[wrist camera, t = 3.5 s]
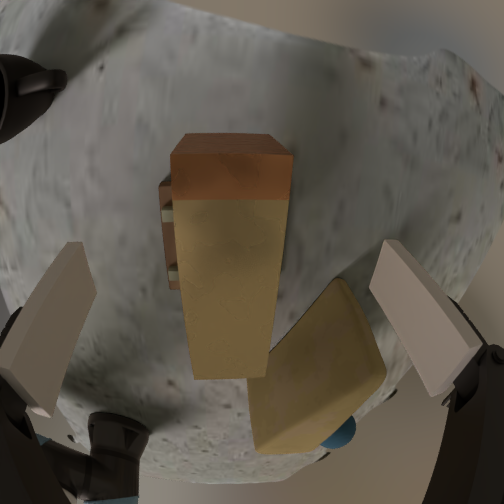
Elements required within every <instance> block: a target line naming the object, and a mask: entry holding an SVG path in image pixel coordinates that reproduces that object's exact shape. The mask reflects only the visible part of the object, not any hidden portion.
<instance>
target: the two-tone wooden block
mask: <svg viewBox="0 0 504 504" xmlns="http://www.w3.org/2000/svg"><path fill="white" fill-rule="evenodd" d="M293 158H294V156H293V155H292V154H291V153H290V152H289V151H288V150H287V149H286V148H284V147H283V146H282V145H281V144H280V143H279V142H278V141H276V140H275V139H274V138H273V137H272V136H271V135H269V134H247V133H190V134H185V135H184V137H183V138H182V139H181V141H180V142H179V143H178V145H177V146H176V147H175V149H174V150H173V151H172V153H171V154H170V163H171V186H172V203H173V218H174V231H175V242H176V253H177V263H178V272H179V281H180V290H181V298H182V305H183V313H184V320H185V327H186V333H187V340H188V346H189V352H190V358H191V364H192V370H193V375H194V380H207V379H239V378H256V377H265V375H266V368H267V362H268V356H269V349H270V342H271V336H272V329H273V322H274V315H275V308H276V301H277V294H278V286H279V279H280V271H281V264H282V256H283V248H284V240H285V231H286V223H287V214H288V205H289V196H290V187H291V178H292V168H293Z"/></svg>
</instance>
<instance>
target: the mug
mask: <svg viewBox="0 0 504 504" xmlns="http://www.w3.org/2000/svg"><path fill="white" fill-rule="evenodd" d="M66 84H67V74H66V72H65V71H63V70H59V69H53V70H46V69H44V68H43V67H42V66H40V65H39V64H37V63H35V62H33V61H31V60H29V59H27V58H24V57H22V56H17V55H10V54H0V144H2V143H4V142H6V141H8V140H10V139H11V138H13V137H14V136H16V135H17V134H19V133H20V132H22V131H23V130H24V129H26V128H27V127H28V126H30V125H31V124H32V123H33V122H34V121H35V120H36V119H37V118H39V117H40V116H41V115H43V114H44V113H45V112H46V111H47V109H48V108H49V106H50V105H51V103H52V100H53V97H54V93H57V92H60V91H63V90H64V89H65V87H66Z"/></svg>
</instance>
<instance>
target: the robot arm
mask: <svg viewBox="0 0 504 504" xmlns="http://www.w3.org/2000/svg"><path fill="white" fill-rule="evenodd" d="M369 289H370V291H371V292H372V294H373V295H374V297H375V299H376V300H377V302H378V303H379V305H380V307H381V308H382V310H383V312H384V313H385V315H386V317H387V318H388V320H389V322H390V323H391V325H392V327H393V329H394V330H395V332H396V334H397V335H398V337H399V339H400V341H401V342H402V344H403V346H404V348H405V350H406V351H407V353H408V355H409V357H410V359H411V361H412V362H413V364H414V366H415V368H416V370H417V372H418V374H419V376H420V377H421V379H422V381H423V383H424V385H425V387H426V389H427V391H428V393H429V395H430V397H432V396H435V395H438V394H440V393H443V392H445V391H446V389H447V388H448V387H449V386H450V385H451V384H452V383H454V385H455V388H454V390H453V391H452V392H451V393H450V394H449V395H448V396H447V397H446V398H445V399H444V400H443V402H442V404H441V405H443V406H444V405H445V404H446V403H447V401H448V400H449V399H450V403H449V404H448V405H447V407H448V408H449V411H448V416H447V421H446V425H445V430H444V434H443V439H442V443H441V447H440V451H439V454H438V458H437V461H436V465H435V468H434V471H433V474H432V477H431V481H430V483H429V486H428V489H427V492H426V494H425V497H424V500H423V502H422V504H504V349H503V348H502V347H500V346H499V345H495V344H493V345H488V344H487V343H486V341H485V340H484V338H483V337H482V336H481V334H480V333H479V331H478V330H477V329H476V327H475V326H474V325H473V323H472V322H471V321H470V320H469V318H468V317H467V315H466V314H465V313H463V310H462V309H461V308H460V306H459V305H458V304H457V303H456V302H455V301H454V300H452V299H451V298H450V297H449V296H447V295H446V294H445V293H444V292H443V290H442V289H441V288H440V287H439V286H438V284H437V283H436V282H435V281H434V280H433V279H432V277H431V276H430V275H429V274H428V273H427V272H426V270H425V269H424V268H423V267H422V266H421V265H420V264H419V263H418V261H417V260H416V259H415V258H414V257H413V256H412V255H411V254H410V253H409V252H408V250H407V249H406V248H405V247H404V246H403V245H402V244H401V243H400V242H399V241H398V240H396V239H384V242H383V245H382V248H381V252H380V255H379V258H378V261H377V264H376V267H375V270H374V273H373V276H372V279H371V282H370V285H369ZM96 294H97V292H96V288H95V285H94V282H93V279H92V276H91V272H90V269H89V266H88V262H87V258H86V255H85V251H84V247H83V243H82V242H67V244H66V245H65V246H64V248H63V249H62V250H61V252H60V253H59V254H58V256H57V257H56V258H55V260H54V261H53V263H52V264H51V265H50V267H49V268H48V270H47V271H46V273H45V274H44V276H43V277H42V278H41V280H40V281H39V283H38V284H37V286H36V288H35V289H34V291H33V292H32V294H31V295H30V297H29V299H28V300H27V302H26V303H25V305H24V307H19V308H18V309H17V310H16V311H15V312H14V313H13V314H12V315H11V317H10V318H9V320H8V322H7V323H6V325H5V328H4V329H3V330H2V332H1V336H0V504H76V502H77V498H78V499H81V500H84V504H138V498H139V496H138V493H139V464H140V458H141V456H142V454H143V451H144V449H145V447H146V445H147V443H148V440H149V431H148V429H147V428H146V427H145V426H143V425H142V424H140V423H138V422H136V421H134V420H131V419H129V418H126V417H123V416H119V415H115V414H109V413H93V414H91V415H90V416H89V419H88V432H89V438H90V444H91V450H90V456H89V455H87V454H84V453H81V452H79V451H76V450H74V449H71V448H69V447H67V446H64V445H62V444H59V443H57V442H55V441H53V440H52V439H51V438H46V437H44V436H42V435H39V434H36V433H35V431H34V429H33V426H32V423H31V421H30V418H29V416H28V415H27V413H26V412H25V410H26V407H27V405H28V406H29V407H30V408H31V409H32V410H33V411H34V412H35V413H36V414H39V415H43V416H46V417H50V418H52V417H53V413H54V409H55V406H56V402H57V399H58V395H59V392H60V389H61V386H62V382H63V379H64V376H65V373H66V370H67V367H68V364H69V361H70V359H71V356H72V353H73V350H74V348H75V345H76V342H77V340H78V337H79V334H80V332H81V329H82V327H83V324H84V322H85V320H86V317H87V315H88V312H89V310H90V308H91V305H92V303H93V301H94V298H95V296H96Z"/></svg>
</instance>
